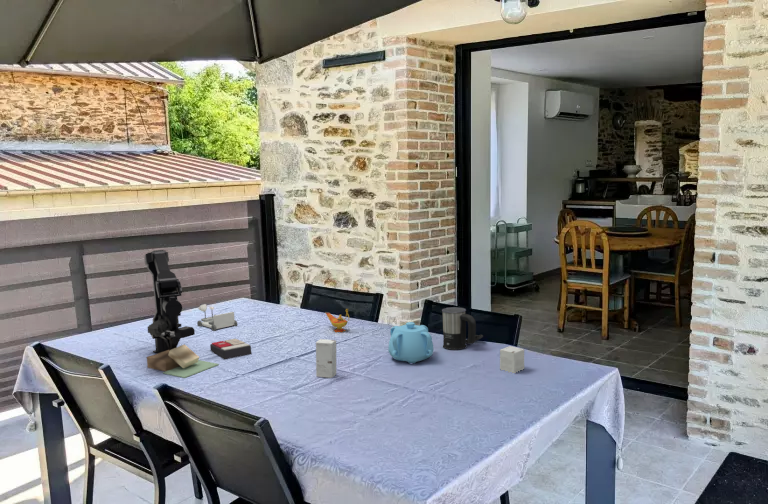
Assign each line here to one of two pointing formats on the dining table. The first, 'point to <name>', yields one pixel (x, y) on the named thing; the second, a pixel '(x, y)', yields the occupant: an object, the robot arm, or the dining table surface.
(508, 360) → the skincare box
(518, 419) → the dining table surface
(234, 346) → the calculator
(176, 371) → the mat
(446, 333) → the milk frother
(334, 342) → the white miniature cabinet
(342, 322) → the magic lamp
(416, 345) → the decorative pot
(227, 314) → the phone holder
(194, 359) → the birch tile
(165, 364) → the brown wooden block
